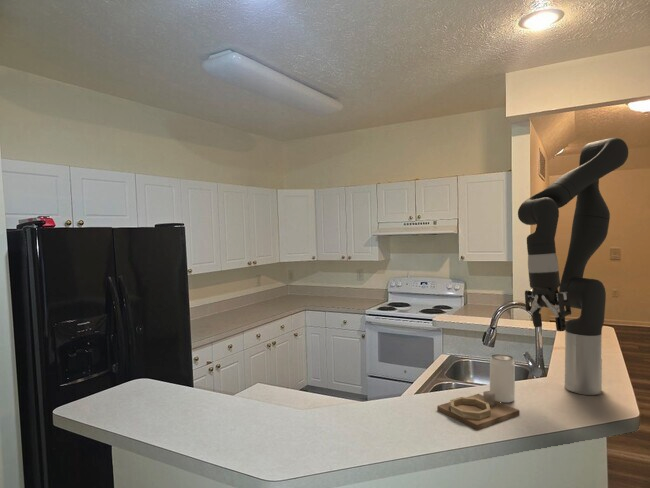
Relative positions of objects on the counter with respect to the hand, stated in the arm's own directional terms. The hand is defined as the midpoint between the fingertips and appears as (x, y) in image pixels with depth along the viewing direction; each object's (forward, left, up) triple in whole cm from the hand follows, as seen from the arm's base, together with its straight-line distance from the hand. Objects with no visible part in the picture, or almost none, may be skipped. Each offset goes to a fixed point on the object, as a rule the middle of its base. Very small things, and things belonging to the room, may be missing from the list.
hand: (548, 328), depth 117 cm
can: (+10, -8, -21) cm, 24 cm away
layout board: (+23, -5, -20) cm, 31 cm away
